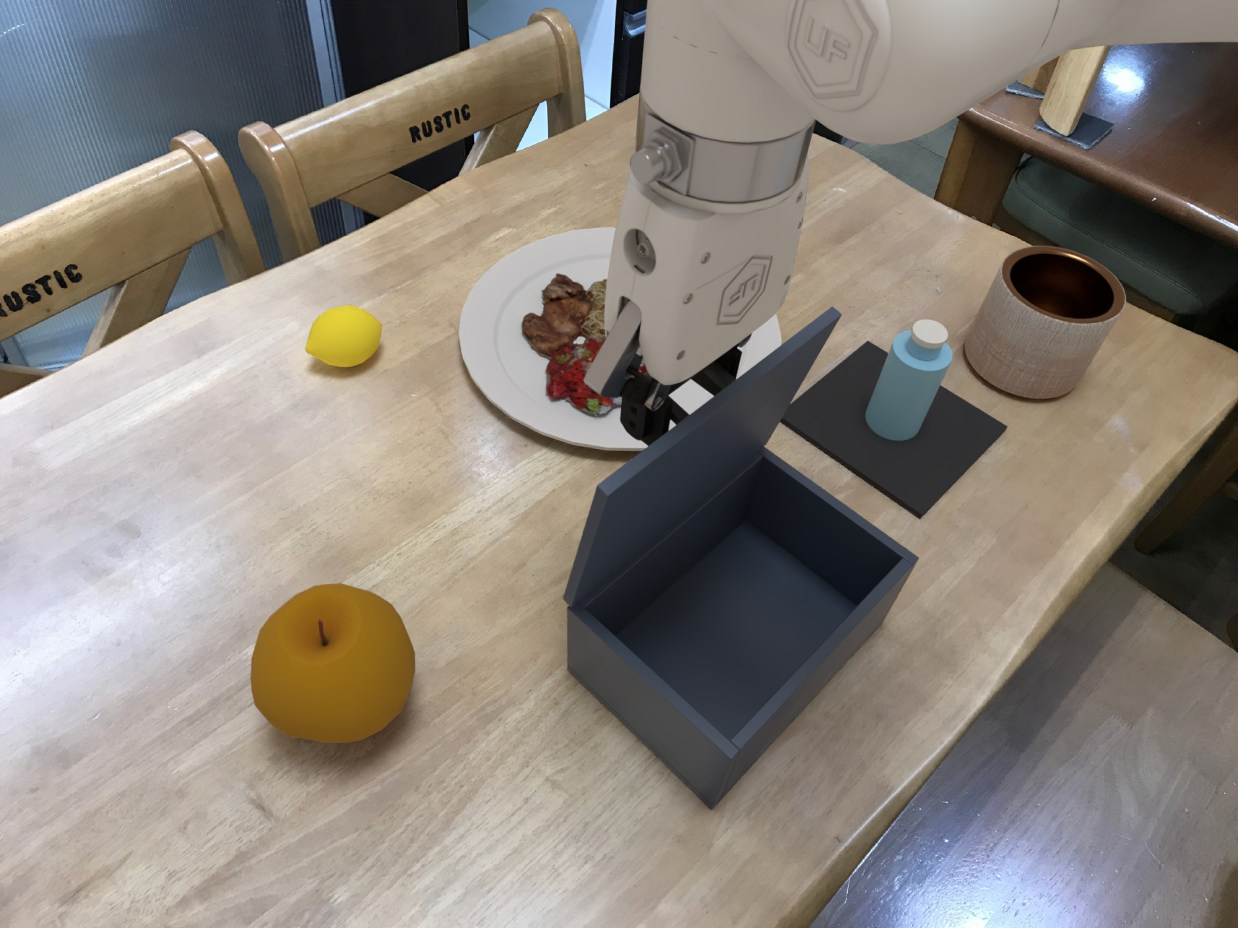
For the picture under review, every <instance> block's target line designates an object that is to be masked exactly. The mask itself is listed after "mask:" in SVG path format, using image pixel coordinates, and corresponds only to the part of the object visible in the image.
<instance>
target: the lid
mask: <svg viewBox="0 0 1238 928" xmlns="http://www.w3.org/2000/svg"><path fill="white" fill-rule="evenodd" d="M842 315H843V313H842V312H840V311H839V310H837V309H836V308H835V307H834V306H830V307H829V308H828V309H827V310H825V311H823V313H821V314H820V315H819V316H817V317H816V318H814V320H812V321H811V322H810V323H808V324H807V325H806V326H804V327H803V328H801V329H800V330H799V331H798V332H796V333H795V334H793V336H791V337H790V338H788V339H787V340H786V341H784V342H782V343H781V346H779V347H778V348H777V349H775V350H774V351H773V352H772V353H770V354H769V355H768V356H766V357H765V358H764V359H762V360H761V361H760V362H758V363H757V364H756V365H754V366H753V367H752V368H751V369H749V370H748V371H747V372H745V373H744V374H743V375H741V376H740V377H739V378H737V379H735V378H734V377H733V376H732V375H730V374H729V373H728V372H727V371H726V370H725V369H724V368H723V367H721V366H720V365H719V364H718V363H717V362H716V361H715V360H714V361H713V362H712V363H710V364H709V365H707V366H706V367H705V368H703V369H702V370H700V371H699V372H697V373H696V374H695V375H693V376H691V377H690V378H688V379H686V380H684V381H682V382H679V383H676V384H672V385H671V387H670V390H669V392H668V395H667V398H668V399H670V400H671V402H672V404H673V406H672V413H671V419H670V420H671V421H673V422H674V423H675V424H676V426H674V427H673V428H672V429H670V430H669V431H668V432H666V433H665V434H664V435H662V436H661V437H660V438H659V439H657V440H656V441H655V442H653V443H652V444H651V445H649V446H648V447H647V448H645V449H644V450H643V451H639V453H637V454H636V455H635V456H634V457H632V458H631V459H629V460H627V462H626V463H624V464H623V465H622V466H620V467H619V468H618V469H617V470H615V471H614V472H612V473H611V474H610V475H608V476H607V477H606V478H604V479H603V480H602V481H601V482H599V483H598V484H597V485H596V488H595V491H594V494H593V498H592V501H591V504H590V508H589V510H588V514H587V518H586V520H585V524H584V527H583V530H582V534H581V537H580V541H579V544H578V547H577V551H576V554H575V557H574V560H573V564H572V567H571V570H570V573H569V577H568V580H567V583H566V587H565V590H564V593H563V597H562V600H563V601H564V602H565V603H566V604H567V606H570V607H572V606H574V605H575V604H576V603H577V602H578V601H580V600H581V599H582V598H583V597H584V596H586V595H587V594H588V593H589V592H590V591H591V590H593V589H594V588H595V587H596V586H597V585H599V584H600V583H601V582H602V581H603V580H605V579H606V578H607V577H608V576H609V575H611V574H612V573H613V572H614V571H615V570H617V569H618V568H619V567H620V566H621V565H623V564H624V563H625V562H626V561H627V560H629V559H630V558H631V557H632V556H633V555H635V554H636V553H637V552H638V551H639V550H641V549H642V548H643V547H644V546H645V545H647V544H648V543H649V542H650V541H651V540H653V539H654V538H655V537H656V536H657V535H658V534H660V533H661V532H662V531H663V530H664V529H666V528H667V527H668V526H669V525H670V524H672V523H673V522H674V521H675V520H676V519H678V518H679V517H680V516H681V515H682V514H684V513H685V512H686V511H687V510H688V509H690V508H691V507H692V506H693V505H694V504H696V503H697V502H698V501H699V500H700V499H702V498H703V497H704V496H705V495H706V494H708V493H709V492H710V491H711V490H712V489H714V488H715V487H716V486H717V485H718V484H719V483H721V482H722V481H723V480H724V479H725V478H727V477H728V476H729V475H730V474H731V473H733V472H734V471H735V470H736V469H737V468H739V467H740V466H741V465H742V464H743V463H745V462H746V461H747V460H748V459H749V458H751V457H752V456H753V455H754V454H755V453H757V452H758V451H759V450H760V449H761V448H763V447H766V445H768V442H769V441H770V439H771V438H772V436H773V434H774V432H775V431H776V429H777V427H778V425H779V424H780V423H781V422H780V420H781V419H782V417H783V415H784V413H785V412H786V410H787V408H788V407H789V405H790V404H791V403H792V402H793V401H794V398H795V396H796V394H797V393H798V391H799V389H800V388H801V386H802V384H803V383H804V380H805V379H806V378H807V376H808V374H809V373H810V371H811V368H812V367H813V365H814V364H815V362H816V360H817V359H818V357H819V355H820V353H821V352H822V350H823V348H824V346H825V345H826V343H827V342H828V340H829V338H830V337H831V334H832V333H833V331H834V329H835V328H836V326H837V324H838V323H839V321H840V319H841V317H842ZM701 371H703V372H704V373H705V374H706V375H707V376H708V377H710V378H711V379H712V380H713V381H714V382H715V383H716V384H717V385H718V386H720V387H721V388H722V389H723V390H722V391H720V392H719V393H718V394H716V395H715V396H714V397H712V398H711V399H710V400H708V401H707V402H706V403H705V404H703V405H702V406H701V407H699V408H698V409H697V410H695V411H694V412H693V413H691V414H690V415H689V414H688V413H687V412H686V411H685V410H684V409H683V408H682V407H681V406H680V405H678V404H677V403H676V402H675V401H674V400H673V399H672V398H671V397H670V396H669V395H670V394H671V393H673V392H674V391H675V390H677V389H678V388H679V387H681V386H682V385H683V384H685V383H686V382H688V381H689V380H690V379H692V378H693V377H694V376H696V375H697V374H698V373H700V372H701ZM644 375H645V376H647V377H648V378H649V379H651V380H652V379H653V377H651V376H650V375H649V373H648V371H647V372H646V373H644Z"/></svg>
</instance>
